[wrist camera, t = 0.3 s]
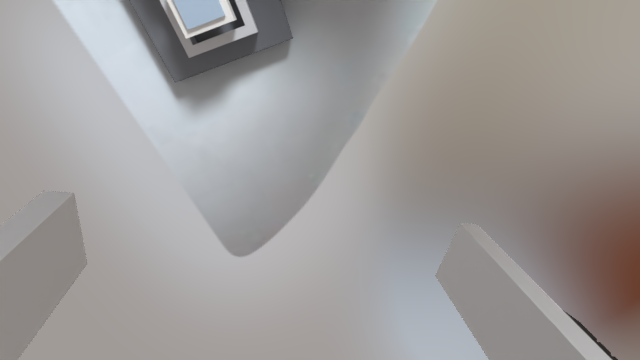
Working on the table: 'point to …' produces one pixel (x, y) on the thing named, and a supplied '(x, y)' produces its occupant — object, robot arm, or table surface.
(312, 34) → the table surface
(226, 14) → the key blue
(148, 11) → the keypad
